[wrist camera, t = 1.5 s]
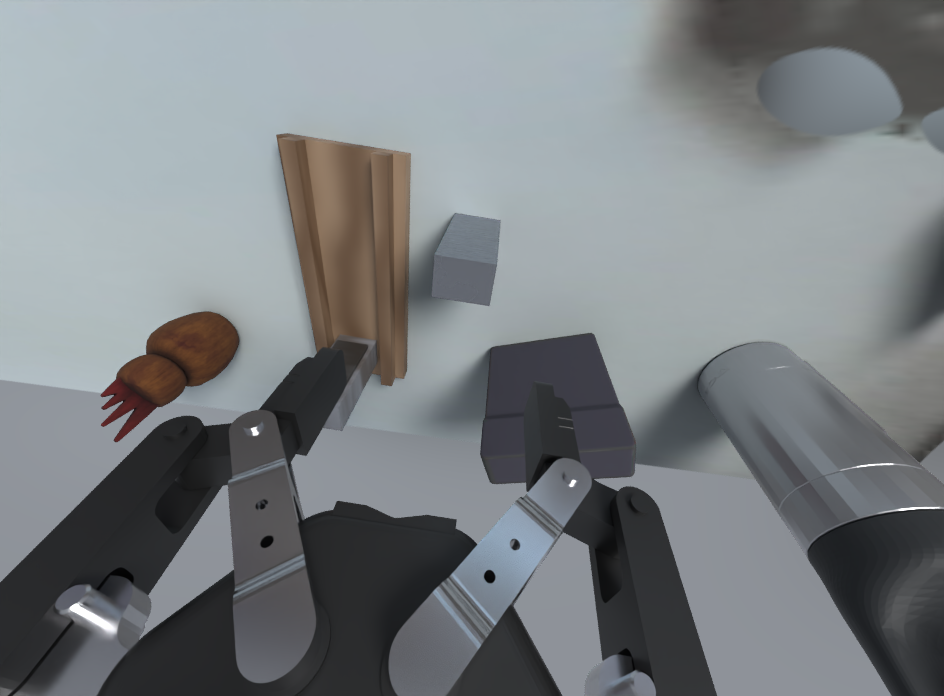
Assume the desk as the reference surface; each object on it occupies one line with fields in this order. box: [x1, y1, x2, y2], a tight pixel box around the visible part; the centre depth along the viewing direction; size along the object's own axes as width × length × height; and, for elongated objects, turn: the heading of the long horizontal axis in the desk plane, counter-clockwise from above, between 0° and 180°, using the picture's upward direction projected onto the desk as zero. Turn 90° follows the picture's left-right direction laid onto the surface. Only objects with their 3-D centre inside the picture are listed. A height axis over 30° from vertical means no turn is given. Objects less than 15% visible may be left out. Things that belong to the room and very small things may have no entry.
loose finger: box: [432, 213, 501, 306], centre depth 26 cm, size 4×3×10 cm
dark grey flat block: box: [480, 333, 636, 484], centre depth 31 cm, size 11×4×15 cm, turn 104°
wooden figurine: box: [101, 312, 239, 442], centre depth 33 cm, size 7×6×15 cm
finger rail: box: [276, 134, 411, 431], centre depth 29 cm, size 10×23×12 cm, turn 172°
